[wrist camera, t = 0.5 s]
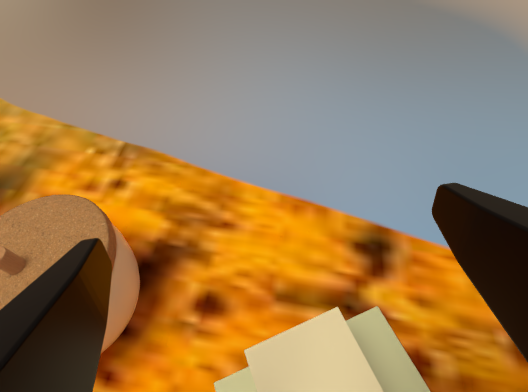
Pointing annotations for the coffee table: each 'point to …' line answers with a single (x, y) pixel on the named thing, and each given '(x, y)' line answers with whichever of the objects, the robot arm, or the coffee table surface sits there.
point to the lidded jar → (65, 251)
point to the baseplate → (374, 350)
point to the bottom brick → (312, 359)
